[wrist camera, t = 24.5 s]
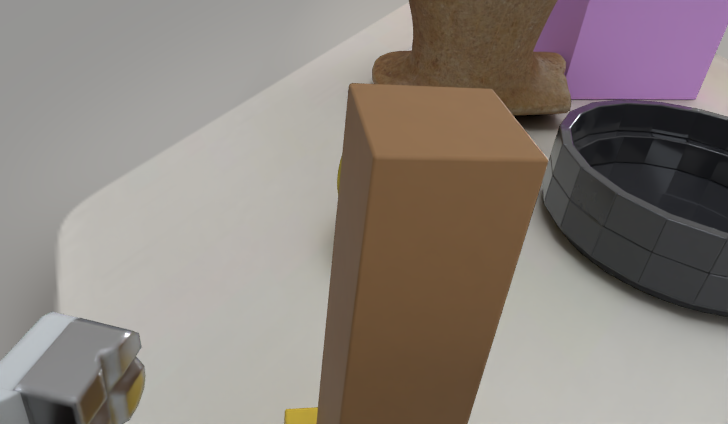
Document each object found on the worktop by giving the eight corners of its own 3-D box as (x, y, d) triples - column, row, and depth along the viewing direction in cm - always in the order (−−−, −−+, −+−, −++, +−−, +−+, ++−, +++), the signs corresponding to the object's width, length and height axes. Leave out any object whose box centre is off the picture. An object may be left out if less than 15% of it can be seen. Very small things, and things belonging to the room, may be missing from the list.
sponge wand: (280, 492, 19) (303, 54, 11) (405, 482, 20) (506, 65, 12) (288, 683, 15) (331, 205, 7) (446, 661, 16) (637, 205, 8)
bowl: (487, 180, 37) (504, 111, 34) (668, 152, 43) (694, 91, 40) (689, 364, 26) (737, 281, 23) (896, 291, 32) (951, 220, 29)
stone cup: (388, 142, 39) (426, -121, 31) (361, 72, 49) (384, -143, 41) (604, 148, 42) (691, -93, 34) (538, 80, 52) (594, -120, 44)
